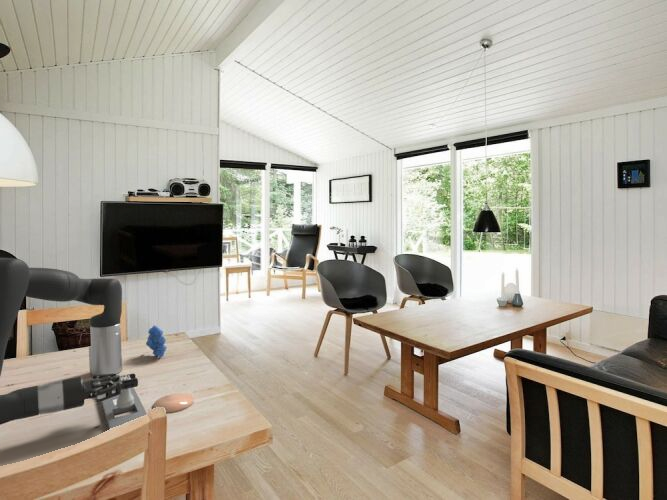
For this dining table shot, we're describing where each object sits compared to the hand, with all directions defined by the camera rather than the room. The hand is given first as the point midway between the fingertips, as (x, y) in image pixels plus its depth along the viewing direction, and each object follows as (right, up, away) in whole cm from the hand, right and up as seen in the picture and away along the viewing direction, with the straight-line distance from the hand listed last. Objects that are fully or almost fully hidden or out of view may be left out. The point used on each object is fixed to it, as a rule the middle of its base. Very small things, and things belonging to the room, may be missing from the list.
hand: (136, 379), depth 110 cm
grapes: (-15, -6, +46) cm, 49 cm away
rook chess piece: (-2, -7, -1) cm, 7 cm away
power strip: (-6, -9, +4) cm, 12 cm away
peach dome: (+8, -9, +6) cm, 14 cm away
